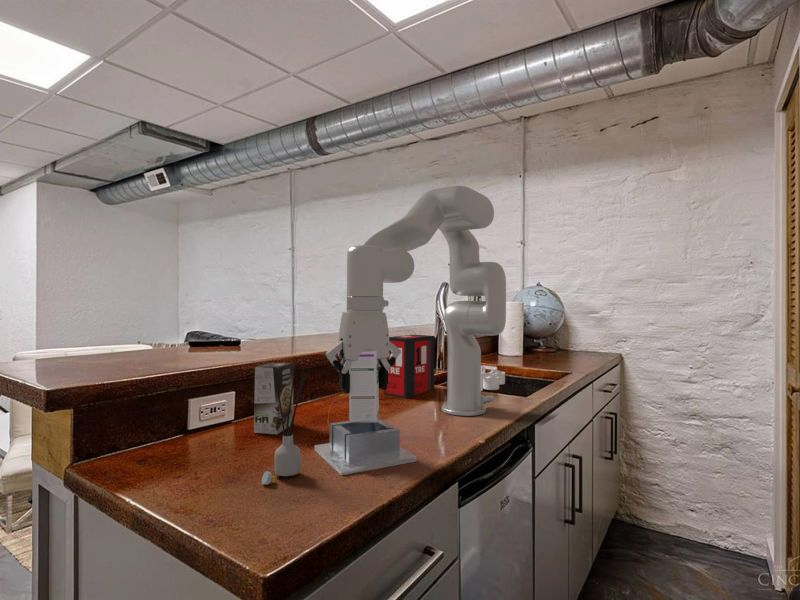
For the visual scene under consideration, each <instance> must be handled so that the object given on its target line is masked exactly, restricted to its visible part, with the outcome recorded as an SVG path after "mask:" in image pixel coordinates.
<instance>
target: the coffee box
mask: <svg viewBox="0 0 800 600" xmlns="http://www.w3.org/2000/svg"><path fill="white" fill-rule="evenodd" d="M275 371H276V373H277V380H278V387H279V394H280V401H281V408H282V415H283V423H284V430H285V431H286V427H287V419H288V411H289V404H290V396H291V389H292V381H293V373H294V362H270V363H266V364H261V365H257V366H255V367H254V398H253V399H254V401H253V403H254V404H253V405H254V407H253V408H254V409H253V410H254V411H253V413H254V414H253V415H254V416H253V433H254V434H265V435H274V434H275V435H279V434H280V433H282V432H283V426H282V419H281V412H280V405H279V398H278V391H277V384H276V377H275ZM293 413H294V391H293V392H292V400H291V407H290V415H289V423H288V428H290V424H291V421H292V417H293Z"/></svg>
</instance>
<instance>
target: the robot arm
mask: <svg viewBox="0 0 800 600" xmlns="http://www.w3.org/2000/svg"><path fill="white" fill-rule="evenodd" d="M494 217H495V210H494V205H493V203H492V202H491V200H490V199H489V198H488V197H487V196H486V195H484V194H482V193H481V192H479V191H477V190H475V189H472V188H471V187H468V186H464V185H452V186H445V187H439V188H438V187H437V188H432V189H429V190H428V191H426V192H424V193H422V195H421V196H420V197H419V198H418V199H417V200H416V201H415V202H414V204H413V205H412V206H411V208H410V209H409V210H407V212H406V213H405V214H404V216H402V217H401V219H398V220H397V221H394V222H393V223H391V224H389V225H388V226H386V227H385V228H383V229H381V230H380V231H378V232H376V233H374V234H373V235H372V236H370V237H369V238H368V239H367V240H366V241H365V242H364V243H363V244H362V245H359V244H358V245H353V246H351V247H349V249H348V250H347V253H346V311H344V312H342V313H341V318H340V322H339V323H340V324H339V331H338V341H337V343H336V344H335V345H334V346H333V347H331V348H330V349H329V350H328V351H326V352H325V355H324V356H325V357H326V358H327V360H328V361H329V362H330V364H331V365H332V366H333V367H334V369H336V371H337V372H338V374H339V375H338V377H339V378H338V379H339V380H338V381H339V382H338V385H339V386H338V387H339V389H340V390H341V392H342V393H344V394H347V395H348V394H349V393H350V374H349V368H350V366H351V364H352V363H351V361H356V360H358V359H359V356H360V353H361V352H362V351H363V350H375V351H377V360H378V363H379V390H380V389H381V390H383V391H384V390H387V385H388V371H389V370H390V369H391V366H392V365H393V364H394V363H395V361H396V359H397V357H398V356H399V354H400V353H401V350H400V349H399V348H397V347H396V346H395V345H394V344H392V343H391V342H390V341H389V337H390V334H389V333H390V331H389V324H388V319H387V318H388V317H387V313H386V312H385V311H384V309H385V307H388V306H389V301H388V300H385V299H384V283H385V284H391V283H402V282H405V281H407V280H408V279H409V278H411V277H412V275H413V274H414V271H415V262H414V258H413V256H412V255H411V253H409V252H410V251H413V250H415V249H418V248H421V247H423V246H424V245H426V244H428V243H429V241H431V239H432V238H433V236H434V235H435V233H436V232H437V231H438V230H439V231H440V232H441V233H442V235H443V237H444V238H445V240H446V242H447V246H448V251H449V253H448V255H449V288H450V291H451V292H452V294H454V295H456V296H463V297H484V299H485V300H457V301H453V302H451V303H449V304H448V305H447V306H446V307H445V309H444V310H445V311H444V313H443V318H444V320H443V321H444V324H445V333H446V341H447V344H446V346H447V360H446V361H447V369H446V370H447V374H446V375H447V378H446V379H447V382H446V383H447V385H446V388H447V389H446V392H447V395H446V397H447V398H446V403H444V404H442V405H441V411H442V412H443V413H445V414H448V415H453V416H460V417H461V416H463V417H465V416H466V417H472V416H473V417H474V416H475V417H476V416H481V415H483V414H486V413H487V407H486V406H485V404H486V403H488V404H489V403H494V402H495V398H494V396H493V395H484V394H482V393H481V392H482V391H481V366H482V360H481V359H482V350H481V347H480V344H479V342H478V340H477V339H476V337H475V336H476V335H477V336H498V335H501V334H502V333H503V332H504V329H505V328H506V321H507V319H506V318H507V280H506V279H507V277H506V273H505V271H504V268H503V265H501V264H500V263H499V262H494V261H480V245H479V242H478V240H477V239H476V237H475V235H474V234H473V233H472V232H471V230H480V229H481V230H482V229H486V228H488V227H489V226H490V225H491V224H492V223H493V221H494ZM389 350H390V351H391V355H390V356H389ZM336 355H337V356H338V357H339V359H341V361H339V360H338V359H337V356H336ZM388 356H389V357H388ZM387 357H388V358H387ZM386 358H387V359H386Z"/></svg>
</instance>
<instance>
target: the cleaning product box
mask: <svg viewBox="0 0 800 600" xmlns="http://www.w3.org/2000/svg"><path fill="white" fill-rule="evenodd" d="M389 341H390V342H391V343H392V344H394V345H395V346H396V347H397V348H399V349H400V350H401V353H400V354H399V356H398V357H397V359H396V361H395V363H394V364H393V365H392V366H391V369H390V370H389V371H388V385H387V390H383V391H384V392H383V394H384V395H385V396H389V397H394V398H401V399H403V400H404V399H410V398H413V397H416V396H418V395H419V396H420V395H422V394H425V393H428V392H433V391H435V335H425V334H408V335H407V334H406V335H395V336H389ZM390 355H391V351H390V350H389V356H390ZM389 356H388V357H389ZM388 357H387V358H388ZM387 358H386V359H387ZM384 395H383V396H384Z"/></svg>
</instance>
